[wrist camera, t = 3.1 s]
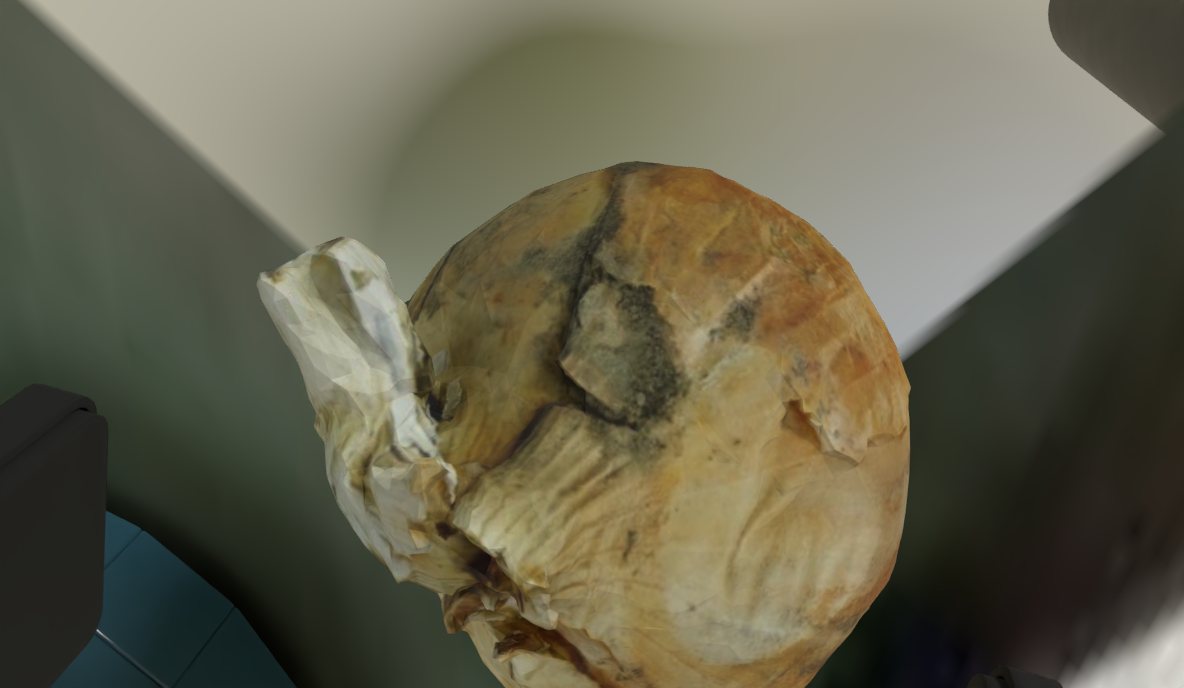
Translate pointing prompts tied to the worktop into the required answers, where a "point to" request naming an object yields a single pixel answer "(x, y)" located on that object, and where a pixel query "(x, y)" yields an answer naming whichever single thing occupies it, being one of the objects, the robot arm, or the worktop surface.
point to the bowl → (166, 626)
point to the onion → (616, 430)
